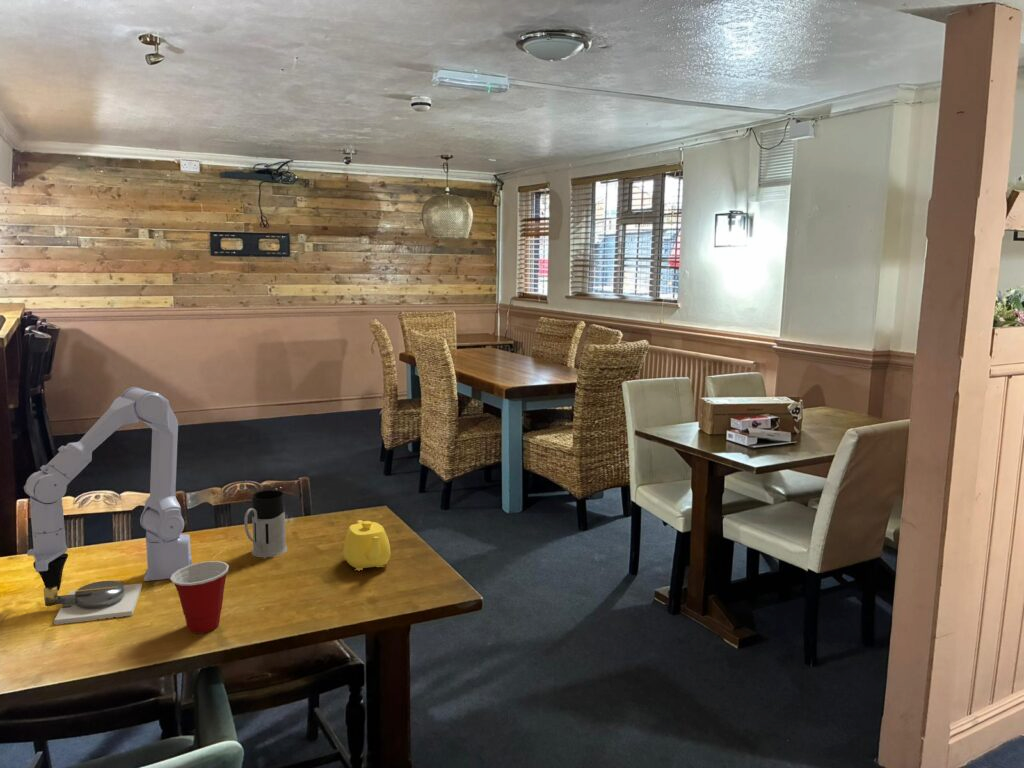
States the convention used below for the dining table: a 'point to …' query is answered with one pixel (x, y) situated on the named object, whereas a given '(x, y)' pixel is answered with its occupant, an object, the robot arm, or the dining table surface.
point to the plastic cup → (201, 594)
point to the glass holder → (267, 524)
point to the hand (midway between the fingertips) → (53, 590)
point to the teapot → (366, 545)
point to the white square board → (100, 608)
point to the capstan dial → (87, 595)
